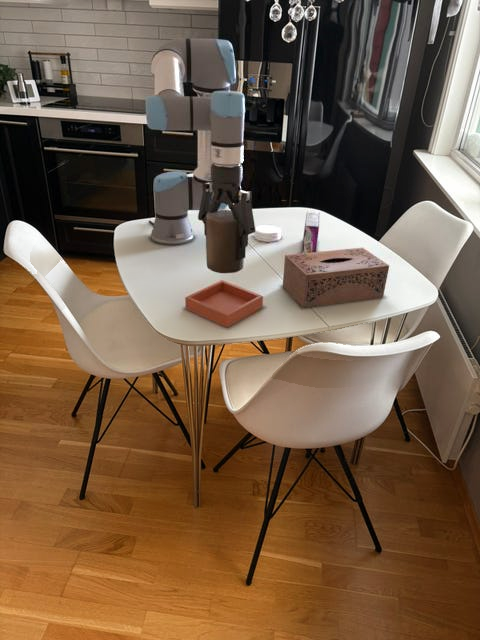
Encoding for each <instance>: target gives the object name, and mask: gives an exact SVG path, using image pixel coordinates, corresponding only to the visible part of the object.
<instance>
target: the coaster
mask: <svg viewBox="0 0 480 640" xmlns="http://www.w3.org/2000/svg"><path fill="white" fill-rule="evenodd" d="M281 232H282V229H281V228H280V227H279V226H276V225H274V224H273V225H272V224H261V225H257V226H255V232H254V233H253V238H254V239H256V240H257V241H259V242H266V243H271V242H278V241H279V240H281V236H282V233H281Z"/></svg>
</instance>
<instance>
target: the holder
mask: <svg viewBox="0 0 480 640" xmlns="http://www.w3.org/2000/svg"><path fill="white" fill-rule="evenodd" d="M184 300H185V301H184V302H185V303H184V304H185V305H184V306H185V308H184V309H185V310H187V311H189V312H192V313H194V314H196V315H198V316H201V317H203V318H205V319H207V320H209V321H212V322H213V323H215V324H218V325H220V326H222V327H224V328H229V327H231V326H233V325H235V324H236V323H237V322H240V321H241V320H243V319H244V318H246V317H248V316H250V315H252V314H254V313H255V312H257V311H258V310H260V309H263V307H264V296H263V295H261V294H259V293H256V292H254V291H251V290H249V289H246V288H243V287H241V286H238V285H236V284H233V283H232V282H231V283H230V282H228V281H226V280H223V279H222V280H219V281H217V282H215V283H213V284H211V285H209V286H206V287H204V288H202V289H200V290H198V291H196V292H193V293H192V294H189V295H187V296H185V297H184Z"/></svg>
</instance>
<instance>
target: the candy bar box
mask: <svg viewBox="0 0 480 640" xmlns="http://www.w3.org/2000/svg"><path fill="white" fill-rule="evenodd" d="M320 215H321V213H320V212H313V211H306V215H305V222H304V229H303V236H302V247H301V254H302V253H312V252H317V247H318V239H319V232H320V231H319V230H320Z"/></svg>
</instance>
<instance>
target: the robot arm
mask: <svg viewBox="0 0 480 640" xmlns="http://www.w3.org/2000/svg"><path fill="white" fill-rule="evenodd" d="M235 59H236V58H235V53H234V48H233V45H232V43H231V42H230V41H229V40H227V39H219V38H191V37H189V38H187V37H178V38H174V39H171V40H169V41H167V42H165V43H163V44H162V45H161V46H159V47H158V49H156V51H155V52H154V54H153V55H152V58H151V62H150V72H151V74H152V77H153V79H154V95H148V96H147V97H146V98H145V119H146V126H147V128H148V129H149V130H155V131H156V130H157V131H162V132H165V131H197V167H196V168H195V169H194V170H193V171H192V173H193V175H192V176H188V173H187V172H186V171H183V170H182V171H179V170H175V171H168V172H163V173H161V174H158V175H156V176H155V177H154V179H153V197H154V214H155V218H154V221H152V220H148V223H149V224H151V226H153V228H152V230H151V232H150V233H151V240H152V241H153V242H154V243H156V244H160V245H166V246H167V245H168V246H177V245H183V244H188V243H190V242H192V240H193V239H194V230H193V228H192V225H191V222H190V219H189V212H188V211H198V214H197V219H198V221H201V222H202V223H203V227H204V228H203V230H204V233H203V234H204V236H205V239H206V238H207V237H206V231H207V230H206V216H207V214H208V212H209V213H213V212H216V211H218V210H226V208H227V207H228V210H231V211H232V214H233V217H234V219H235V220H237V228H238V231H239V233H240V234H238V235H237V247H236V260H241V259H243V258H244V259H245V258H246V250H247V247H249V246H248V245H249V236H250V235H251V234H254V232H255V227H256V225H255V219H254V212H253V205H252V195H253V194H252V191H250V190H249V191H245V190H242V189H243V188H242V187H241V184H242V181H243V169H244V168H243V165H242V164H243V162H244V131H245V113H246V107H245V106H246V105H245V95H244V93H243V92H242V91H237V90H231V85H234V84H235V83H236V80H237V79H236V78H237V77H236V76H237V73H236V60H235ZM184 83H190V84H191V83H192V90H193V91H194V92H195V93H196V95H197V96H190V95H189V96H187V95H186V96H185V91H184ZM243 228H244V230H243ZM206 243H207V241H206V240H205V247H206V246H207V245H206Z"/></svg>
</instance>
